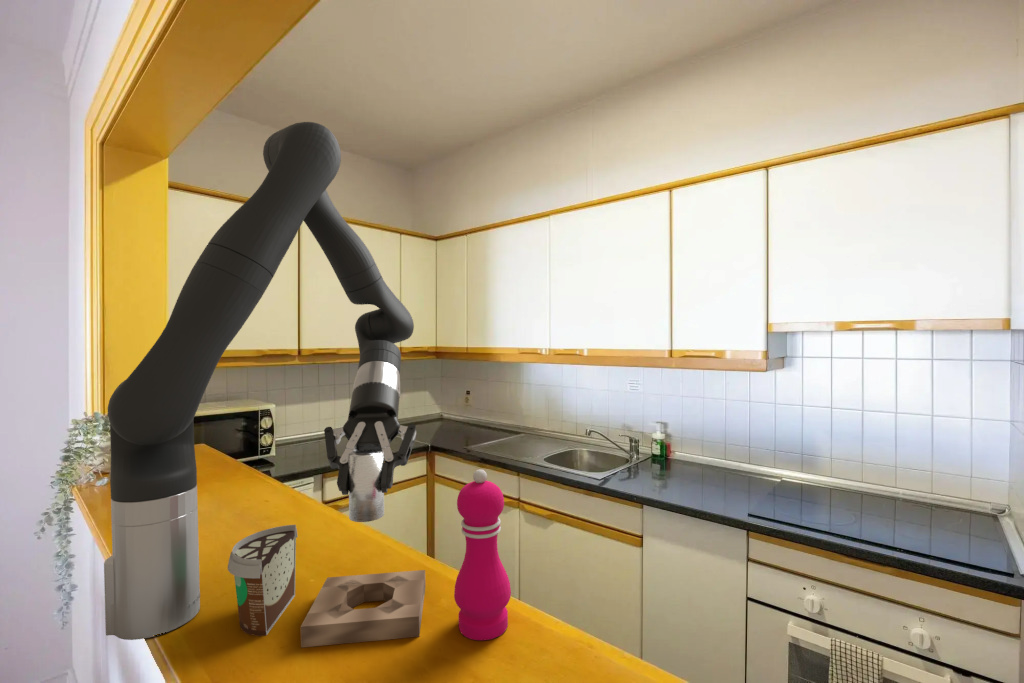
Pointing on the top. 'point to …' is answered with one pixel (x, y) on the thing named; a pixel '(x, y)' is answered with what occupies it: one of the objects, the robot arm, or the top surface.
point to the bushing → (365, 485)
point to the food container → (264, 577)
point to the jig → (343, 624)
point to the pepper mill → (481, 562)
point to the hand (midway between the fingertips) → (364, 490)
